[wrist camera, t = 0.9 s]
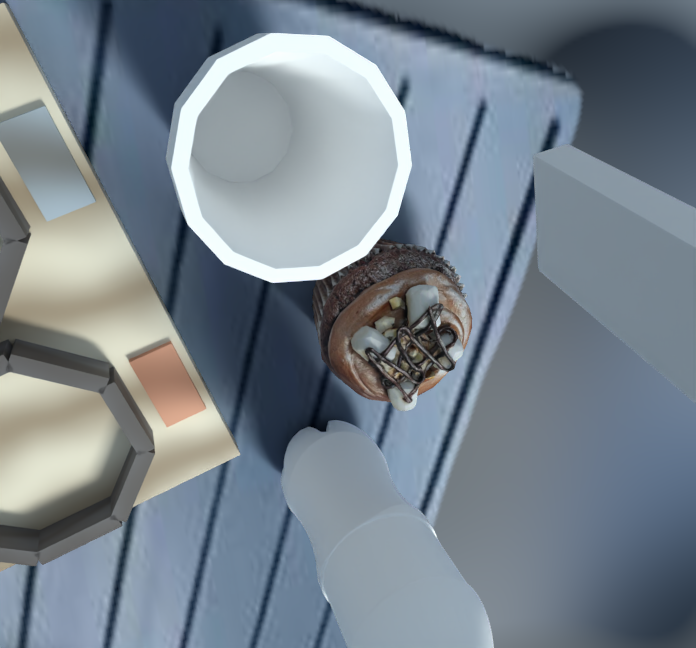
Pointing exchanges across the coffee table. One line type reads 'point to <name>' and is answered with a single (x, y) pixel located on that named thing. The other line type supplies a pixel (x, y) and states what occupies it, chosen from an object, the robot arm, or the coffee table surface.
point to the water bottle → (376, 548)
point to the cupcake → (392, 322)
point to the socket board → (80, 342)
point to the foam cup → (289, 156)
